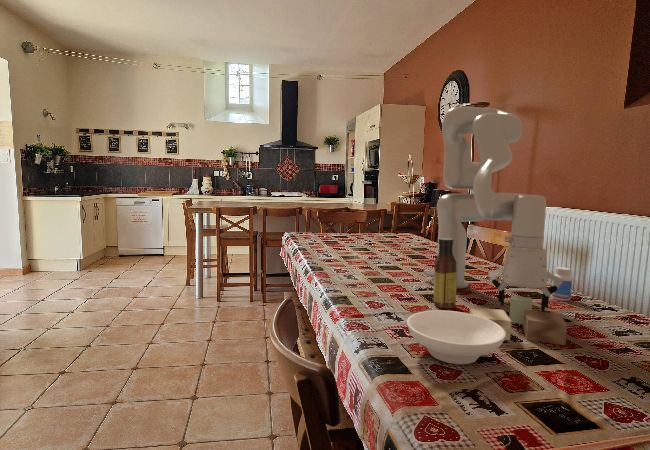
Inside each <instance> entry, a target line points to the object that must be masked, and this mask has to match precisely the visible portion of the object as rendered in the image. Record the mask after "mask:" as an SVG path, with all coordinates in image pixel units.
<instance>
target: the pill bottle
mask: <svg viewBox="0 0 650 450" xmlns="http://www.w3.org/2000/svg"><path fill="white" fill-rule="evenodd" d="M571 272H572V270H571V268H569V267H565V266H557V267H555V273H554V274H553V275H555V276H557V277H558V278H560V279H562V281H563V282H562V284H561V285H560V286H559V288H558V289H557V291H555V292H554V293H552V294H551V295H550V296H551V299H553V300H557V301H561V302H562V301H564V302H567V301H570V300H571V297H572V289H573V276H572V275H570V274H571ZM551 281H552V283H551V286H552V285H553V284H554V283H555V282H554V281H553V280H551Z"/></svg>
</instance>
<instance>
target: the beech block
mask: <svg viewBox="0 0 650 450" xmlns="http://www.w3.org/2000/svg"><path fill="white" fill-rule="evenodd" d="M468 314H473V315H477V316H480V317H483V318H486V319H488V320H491V321H493V322H495V323H497V324H498V325H499V326H501V327H502V328H503V329H504V330H505V333H506V335H505V339H504V341H505V340H510V341H511V332H512V323H511V322H512V321H511V320H510V318H509V316H508V314H507V313H506V311H505V310H504V309H499V308H498V309H497V308H496V309H495V308H484V307H472V306H471V307H469V313H468Z"/></svg>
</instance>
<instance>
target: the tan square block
mask: <svg viewBox="0 0 650 450" xmlns="http://www.w3.org/2000/svg"><path fill="white" fill-rule="evenodd" d="M523 330H524V331H523ZM567 330H568V324H567V322H566V321H565V319H564V317H563V316H562V314H561V313H554V312H546V311H545V312H544V311H536V310H532V311H531V310H524V319H523V324H522V331H523V332H524V333H525V334H524V333H523V334H524V337H525V336H526V337H525V339H528V340H527V341H532V340H535V341H534V342H539V341H541V343H546V342H548V343H547V344H553V345H554V344H555V345H560V346H561V345H562V346H566V341H567V332H568V331H567Z"/></svg>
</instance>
